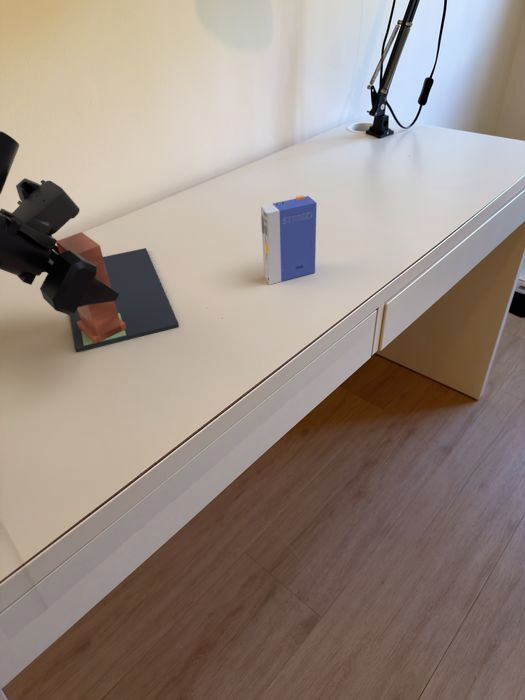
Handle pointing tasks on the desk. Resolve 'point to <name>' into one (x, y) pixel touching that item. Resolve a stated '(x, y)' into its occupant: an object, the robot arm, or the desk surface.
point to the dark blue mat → (132, 300)
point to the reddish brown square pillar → (101, 316)
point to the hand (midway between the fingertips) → (100, 283)
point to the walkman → (289, 239)
